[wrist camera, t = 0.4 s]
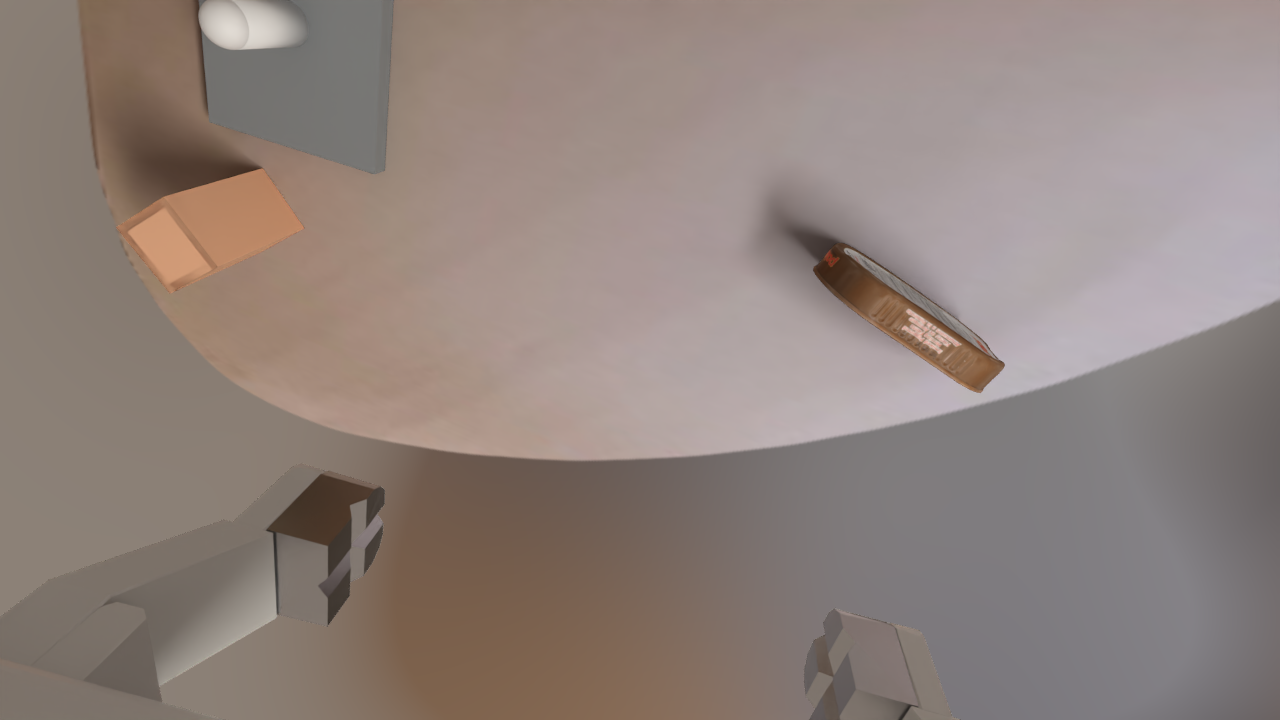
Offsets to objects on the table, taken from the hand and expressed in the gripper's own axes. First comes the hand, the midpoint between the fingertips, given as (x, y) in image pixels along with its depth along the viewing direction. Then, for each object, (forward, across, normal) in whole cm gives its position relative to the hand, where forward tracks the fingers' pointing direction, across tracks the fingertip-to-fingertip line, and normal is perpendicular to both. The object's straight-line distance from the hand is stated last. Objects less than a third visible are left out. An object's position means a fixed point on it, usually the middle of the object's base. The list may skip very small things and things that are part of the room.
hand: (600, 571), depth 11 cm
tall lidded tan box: (+42, +36, +12) cm, 57 cm away
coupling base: (+41, +31, -4) cm, 52 cm away
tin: (+40, -17, +4) cm, 44 cm away
